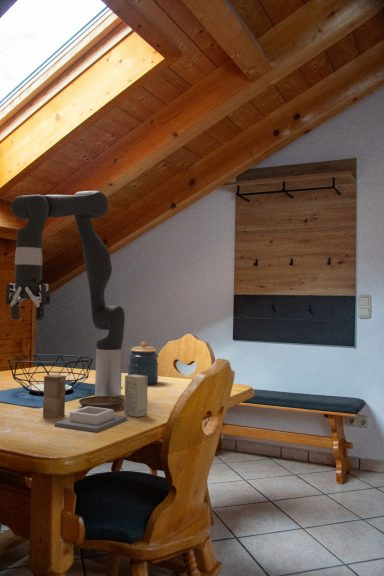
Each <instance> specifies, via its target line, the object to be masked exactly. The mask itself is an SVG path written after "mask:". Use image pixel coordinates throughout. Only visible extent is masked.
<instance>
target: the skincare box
mask: <svg viewBox="0 0 384 576" xmlns="http://www.w3.org/2000/svg"><path fill="white" fill-rule="evenodd" d="M124 415H126V416H131V417H135V418H140V417H145V416H148V385H147V376H142V375H135V374H134V375H128V374H127V375H125V376H124Z"/></svg>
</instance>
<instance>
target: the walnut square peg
mask: <svg viewBox="0 0 384 576" xmlns="http://www.w3.org/2000/svg"><path fill="white" fill-rule="evenodd" d="M66 379H67V376H66V375H64V374H63V375H62V374H61V375H60V374H49V375H44V376H43V403H42V404H43V405H42V417H46V418H53V419H56V418H57V419H58V418H60V417H63V416H65V413H66V411H65V410H66V409H65V408H66V383H67V382H66V381H67V380H66Z"/></svg>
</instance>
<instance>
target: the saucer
mask: <svg viewBox="0 0 384 576" xmlns="http://www.w3.org/2000/svg"><path fill="white" fill-rule="evenodd" d="M78 402H79V404H80V405H81V407H82V408H84V407H87V406H91V407H98V408H106V409H114V411H115V410H117V409H118V408H120V407H121V406H122V404H124V403H125V398H123V397H120V396H117V397H111V396H89V397H83V398H82V397H81V398H80V399H79V400H78Z"/></svg>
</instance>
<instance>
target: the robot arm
mask: <svg viewBox="0 0 384 576" xmlns="http://www.w3.org/2000/svg"><path fill="white" fill-rule="evenodd" d="M108 209H109V201H108V198H107V196H106V195H105V193H104V192H102V191H99V190H86V191H85V190H84V191H77V192H75V193H74V194H73V195H72V194H71V195H70V194H46V195H41V194H28V195H27V194H26V195H18V196H16V197H15V198H14V199H13V200H12V202H11V204H10V210H11V212H12V214H13V216H14V217H16V218H17V219H18V220H21V221H27V223H26V225H24V226H23V227H20V228H18V229H17V231H16V244H15V253H14V254H15V255H14V280H15V283H7V284H6V293H5V304H6V305H9V306H10V308H11V309H10V310H11V311H10V312H11V314H10V315H11V318H12V320H13V321H15V320H16V321H17V320H20V305H21V303H22V302H23V301H25V300H26V299H27V300H31V302H33V303H34V304H35V321H43V319H44V317H45V316H44V314H45V307H46V306H50V305H51V285H50V284H49V283H42V284H41V281H42V280H43V252H42V251H43V250H42V249H43V247H42V245H43V242H42V241H43V232H44V229H45V227H46V223H47V220H48V219H54V218H55V219H56V218H63V217H71V216H74V218H75V222H76V227H77V230H78V232H79V233H78V234H79V238H80V243H81V246H82V247H81V248H82V254H83V260H84V266H85V271H86V275H87V276H86V277H87V282H88V288H89V295H90V296H89V297H90V307H91V308H90V309H91V319H92V324H93V326H94V327H95V328H96V329H97V330H102V331H108V332H107V333H108V334H107V336H105V337H104V338H101V339H99V340H97V341H96V348H95V350H96V353H95V376H94V377H95V378H94V379H95V381H94V382H95V384H94V397H96V396H111V397H120V396H121V394H122V372H123V371H122V346H123V340H124V332H125V331H124V330H125V321H126V319H125V310H124V309H123V307H122V306H120V305H113V304H111V305H110V304H108V305H107V304H106V300H105V290H106V288H107V285H108V283H109V281H110V279H111V276H112V273H113V266H112V262H111V261H112V260H111V254H110V251H109V249H108V247H107V245H106V244H105V243H104V242H103V241H102V239H101V238H100V236H99V235H98V234H97V232H96V231H95V228H94V224H93V222H92V219H94V218H97V219H98V218H102V217H103V216H104V215H106V214H107V211H108Z"/></svg>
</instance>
